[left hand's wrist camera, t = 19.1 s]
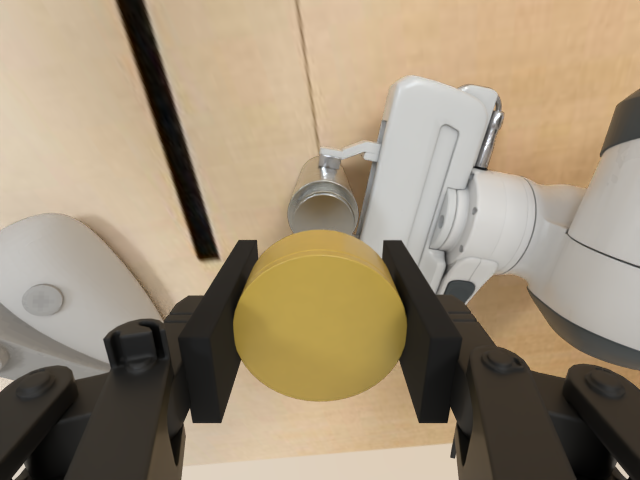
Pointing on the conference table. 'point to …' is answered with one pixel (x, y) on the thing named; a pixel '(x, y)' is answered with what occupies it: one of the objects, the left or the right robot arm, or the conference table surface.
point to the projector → (62, 297)
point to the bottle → (322, 200)
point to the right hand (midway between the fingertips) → (312, 192)
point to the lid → (320, 317)
